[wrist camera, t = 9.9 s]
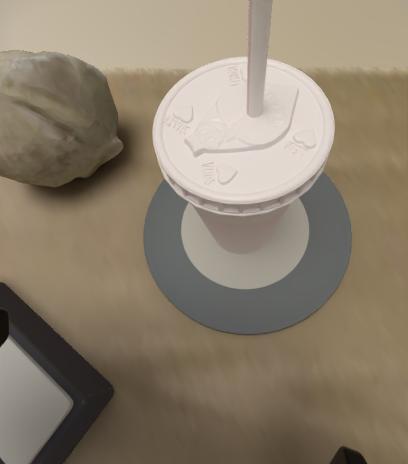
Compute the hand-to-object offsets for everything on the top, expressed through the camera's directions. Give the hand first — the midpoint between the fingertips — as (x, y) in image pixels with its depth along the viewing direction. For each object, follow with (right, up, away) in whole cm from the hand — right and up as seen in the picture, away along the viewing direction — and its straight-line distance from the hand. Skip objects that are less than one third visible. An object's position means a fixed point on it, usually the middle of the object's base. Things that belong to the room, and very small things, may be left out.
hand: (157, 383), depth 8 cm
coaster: (+4, +4, +13) cm, 14 cm away
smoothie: (+3, +4, +12) cm, 13 cm away
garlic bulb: (-9, +9, +16) cm, 21 cm away
